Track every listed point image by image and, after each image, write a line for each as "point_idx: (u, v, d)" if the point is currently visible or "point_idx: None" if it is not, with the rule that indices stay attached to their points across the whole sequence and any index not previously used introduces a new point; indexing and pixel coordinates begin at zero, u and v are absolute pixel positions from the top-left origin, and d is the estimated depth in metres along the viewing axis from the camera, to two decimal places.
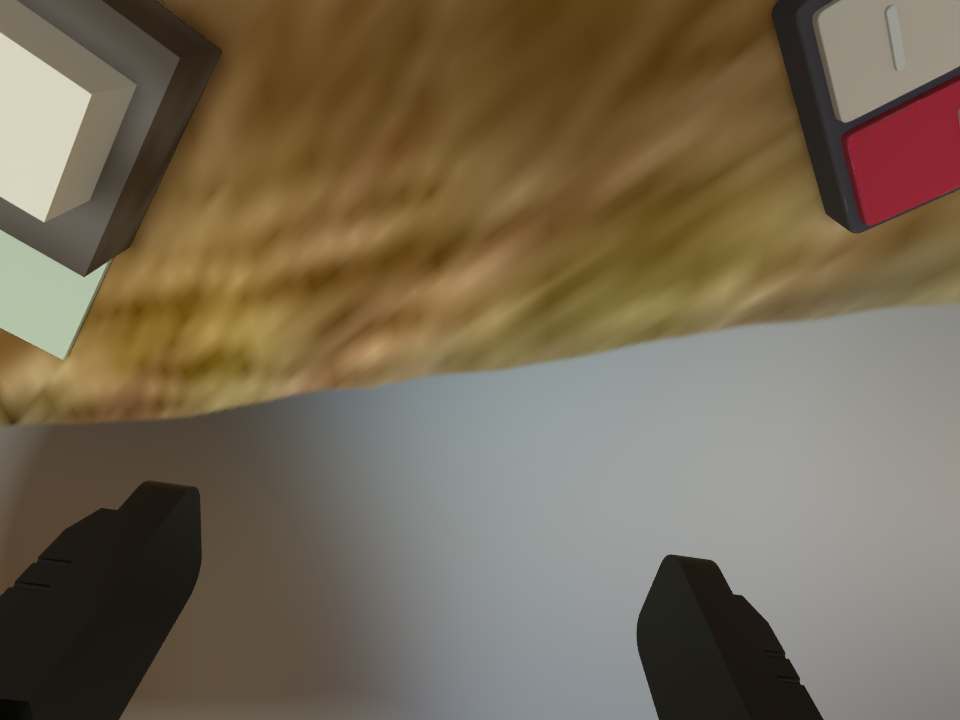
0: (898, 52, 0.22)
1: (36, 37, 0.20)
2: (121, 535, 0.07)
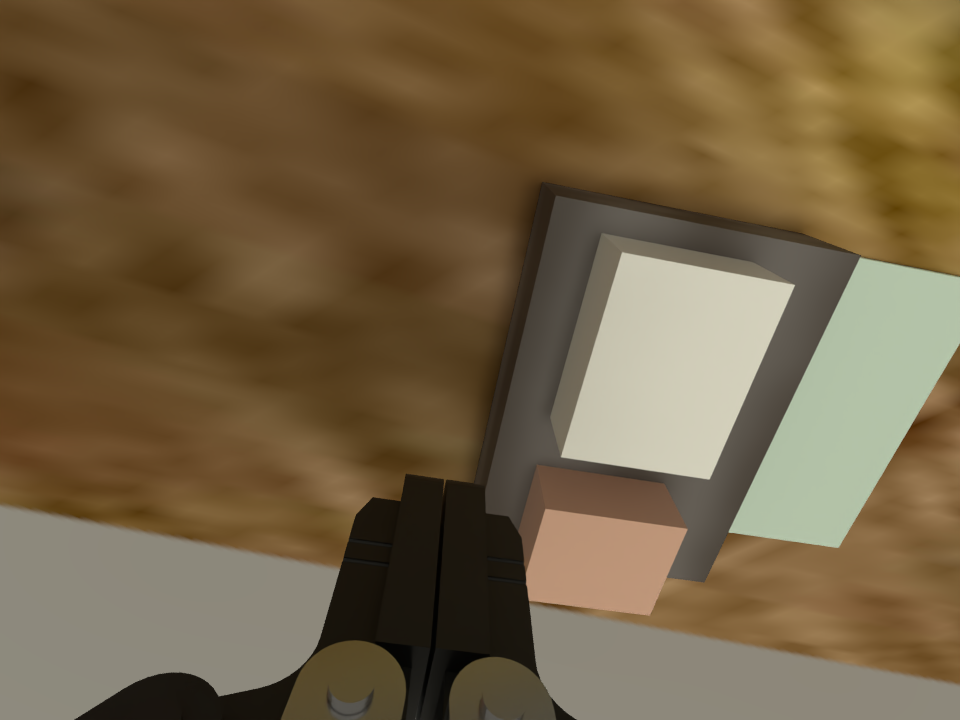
0: None
1: (590, 317, 0.20)
2: (417, 519, 0.09)
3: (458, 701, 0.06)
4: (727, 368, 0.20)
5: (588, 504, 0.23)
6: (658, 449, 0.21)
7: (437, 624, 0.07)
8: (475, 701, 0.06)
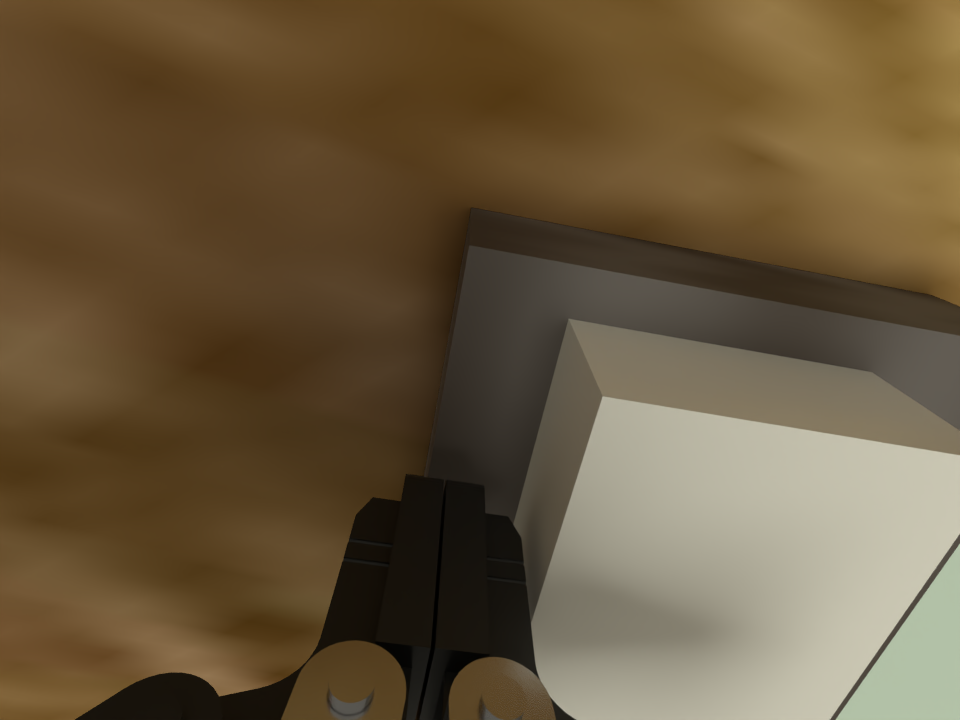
0: None
1: (543, 497, 0.10)
2: (417, 519, 0.09)
3: (457, 701, 0.06)
4: (834, 617, 0.09)
5: None
6: None
7: (437, 624, 0.07)
8: (475, 701, 0.06)
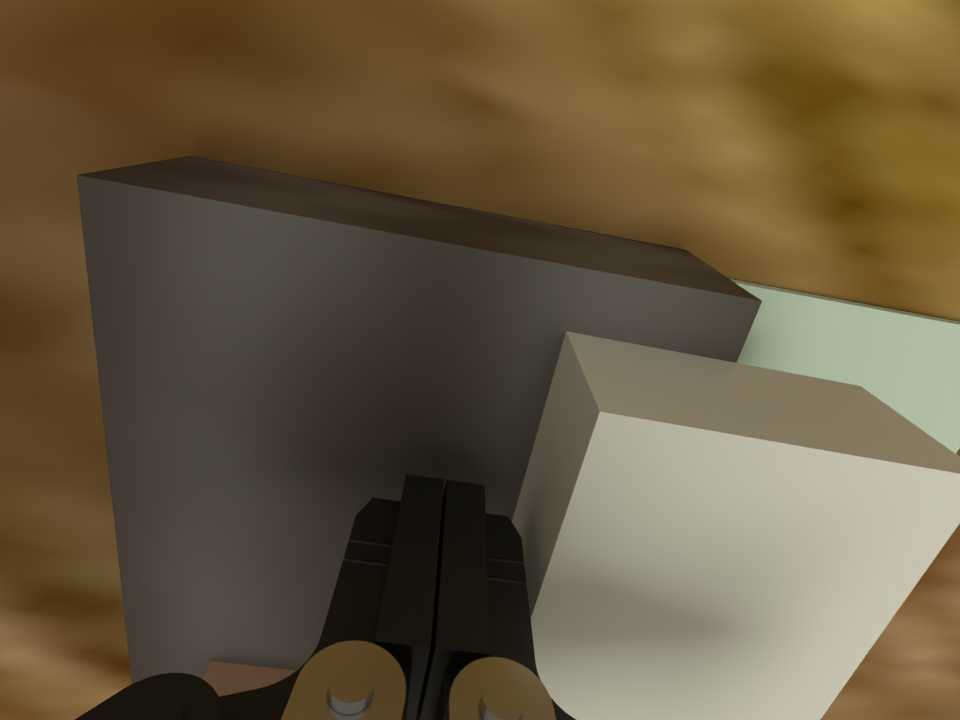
0: None
1: (540, 506, 0.10)
2: (417, 519, 0.09)
3: (458, 702, 0.06)
4: (821, 626, 0.09)
5: None
6: None
7: (437, 624, 0.07)
8: (475, 701, 0.06)
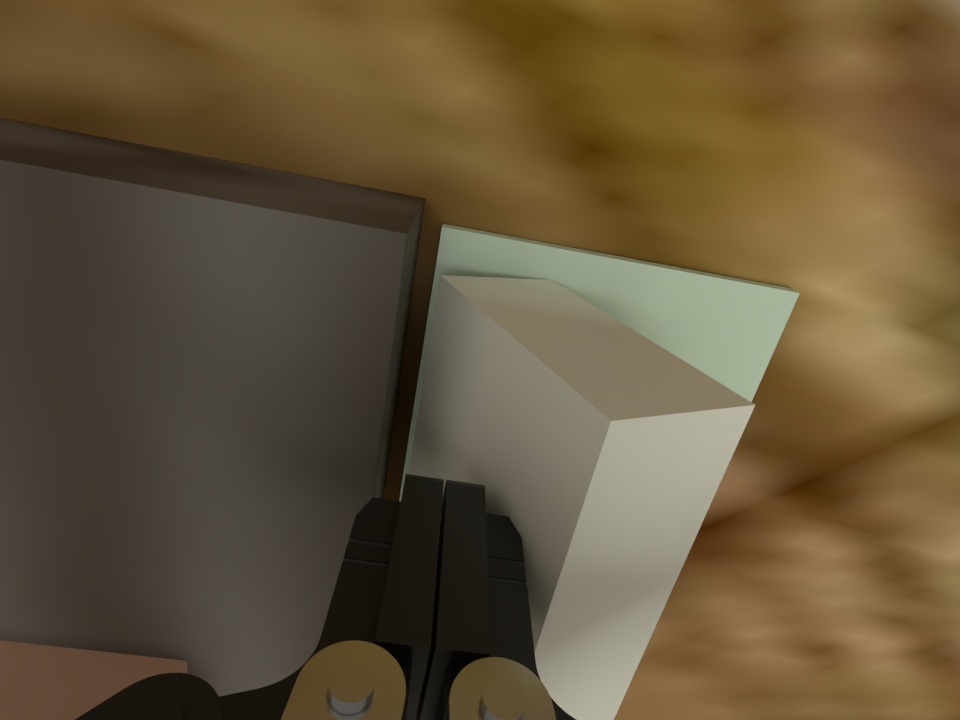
0: None
1: (641, 551, 0.09)
2: (417, 519, 0.09)
3: (458, 701, 0.06)
4: None
5: None
6: None
7: (437, 624, 0.07)
8: (475, 700, 0.06)
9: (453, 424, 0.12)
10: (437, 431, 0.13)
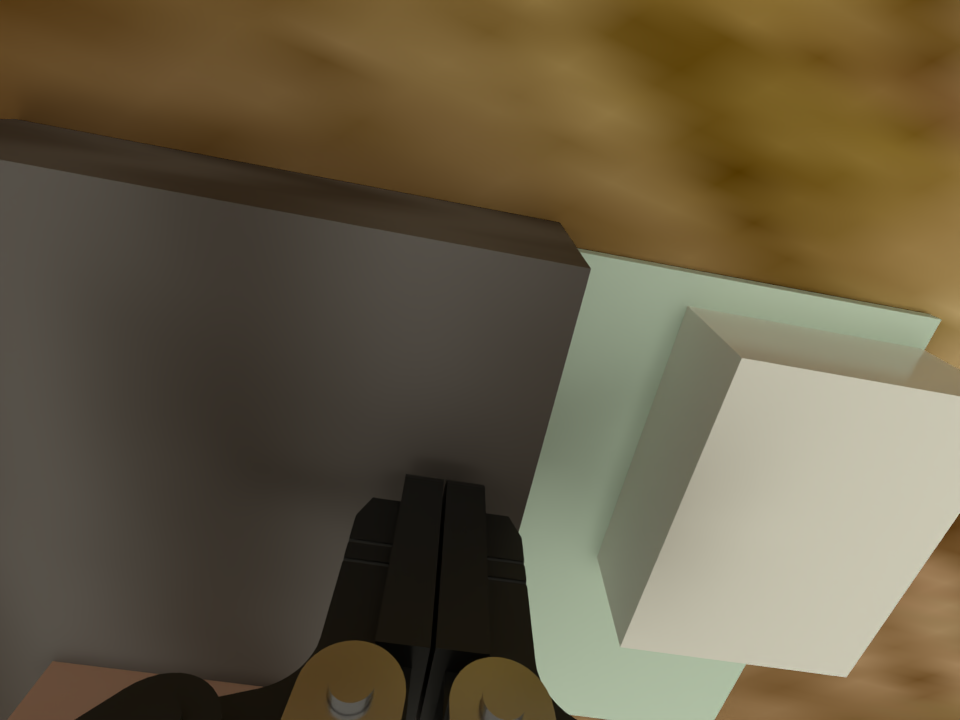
0: None
1: None
2: (417, 519, 0.09)
3: (458, 701, 0.06)
4: None
5: None
6: None
7: (437, 624, 0.07)
8: (475, 701, 0.06)
9: (776, 486, 0.12)
10: (734, 504, 0.12)
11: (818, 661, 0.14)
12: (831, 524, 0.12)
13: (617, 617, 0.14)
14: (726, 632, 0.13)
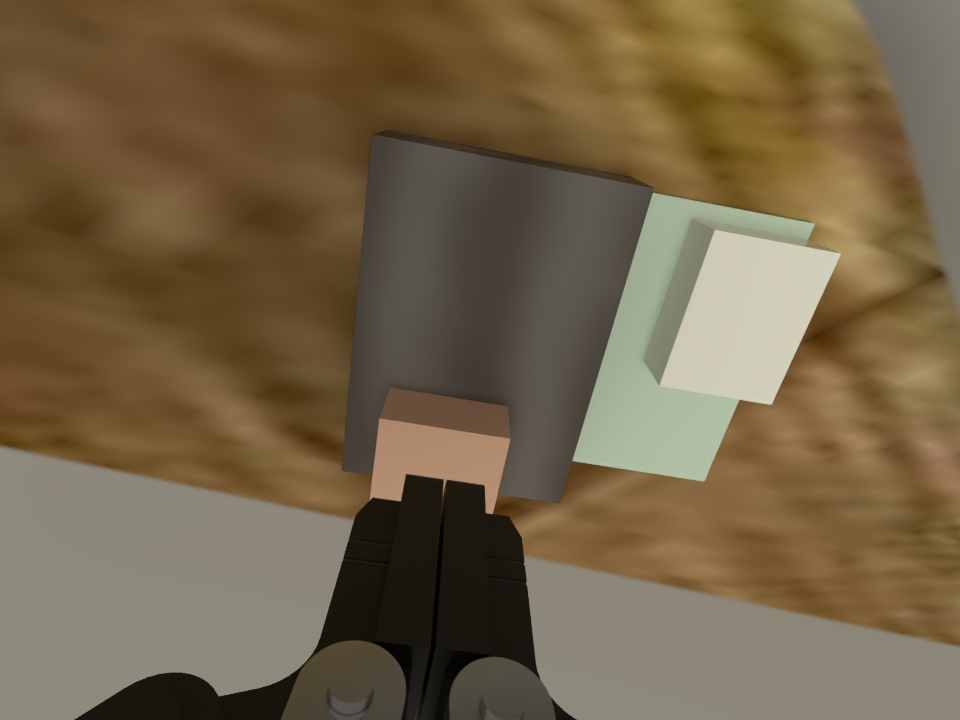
0: None
1: None
2: (417, 519, 0.09)
3: (458, 702, 0.06)
4: None
5: (423, 417, 0.26)
6: None
7: (437, 623, 0.07)
8: (475, 700, 0.06)
9: (731, 293, 0.26)
10: (713, 303, 0.26)
11: (756, 394, 0.28)
12: (758, 313, 0.26)
13: (657, 375, 0.28)
14: (711, 377, 0.28)
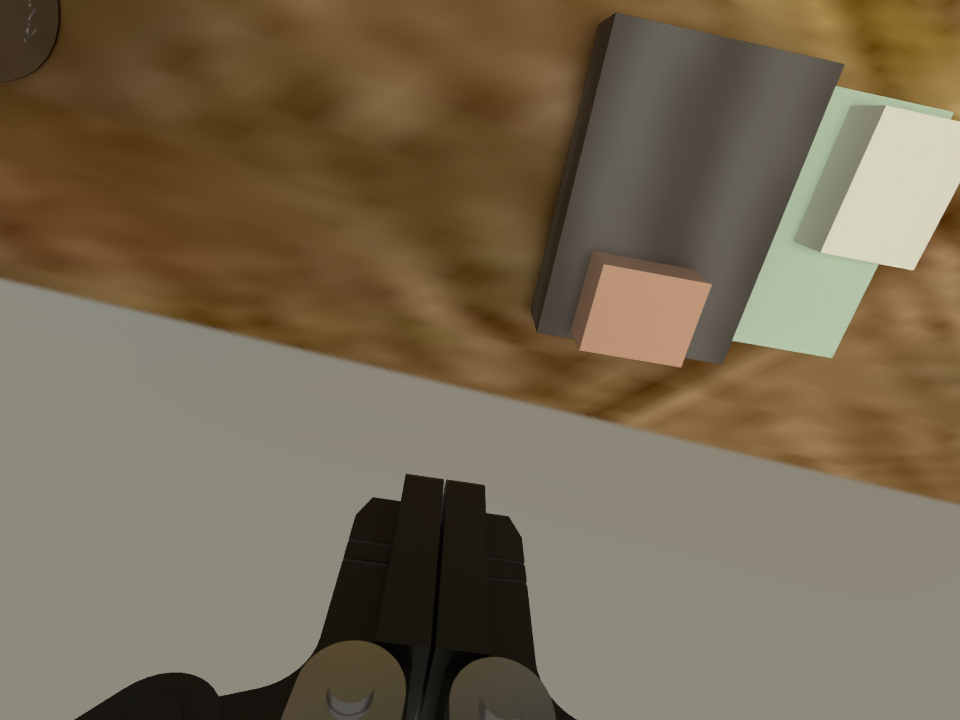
0: None
1: None
2: (417, 519, 0.09)
3: (458, 701, 0.06)
4: None
5: (635, 267, 0.30)
6: None
7: (437, 624, 0.07)
8: (475, 700, 0.06)
9: (893, 164, 0.30)
10: (876, 173, 0.31)
11: (902, 260, 0.33)
12: (912, 183, 0.31)
13: (816, 245, 0.33)
14: (865, 243, 0.32)
